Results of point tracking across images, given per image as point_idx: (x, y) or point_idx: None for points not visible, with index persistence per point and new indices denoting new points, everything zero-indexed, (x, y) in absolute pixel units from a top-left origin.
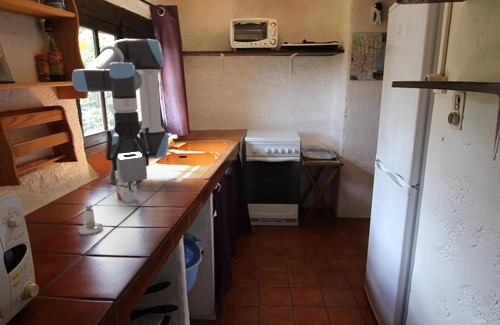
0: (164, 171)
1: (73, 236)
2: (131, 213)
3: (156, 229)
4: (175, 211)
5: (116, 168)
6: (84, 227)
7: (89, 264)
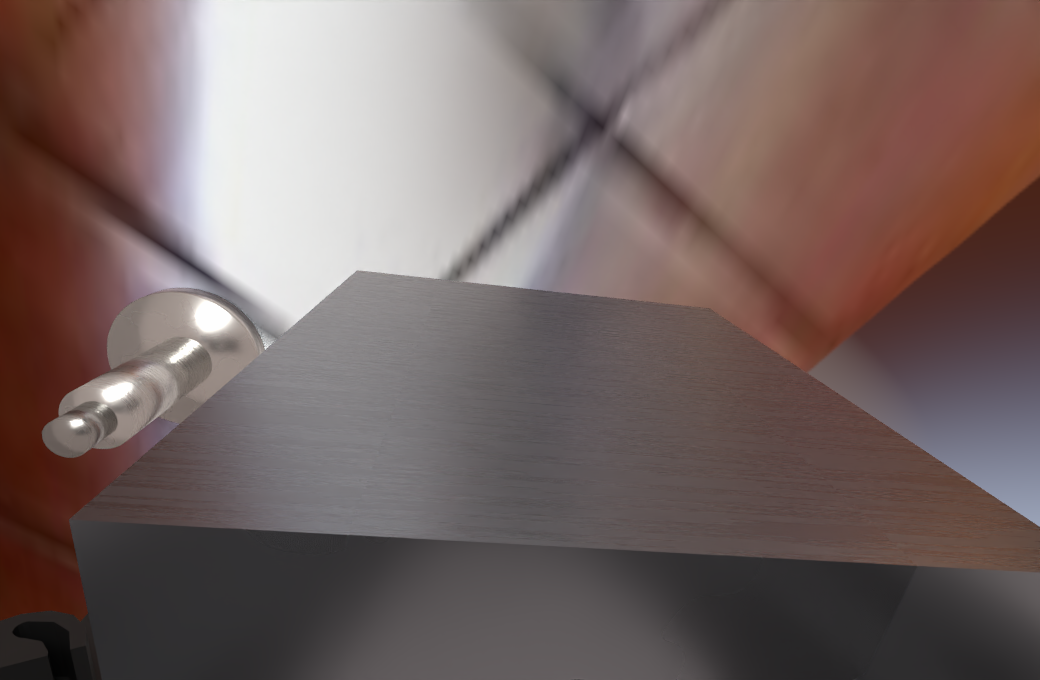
0: None
1: (88, 376)
2: (491, 233)
3: None
4: None
5: None
6: (143, 337)
7: None
